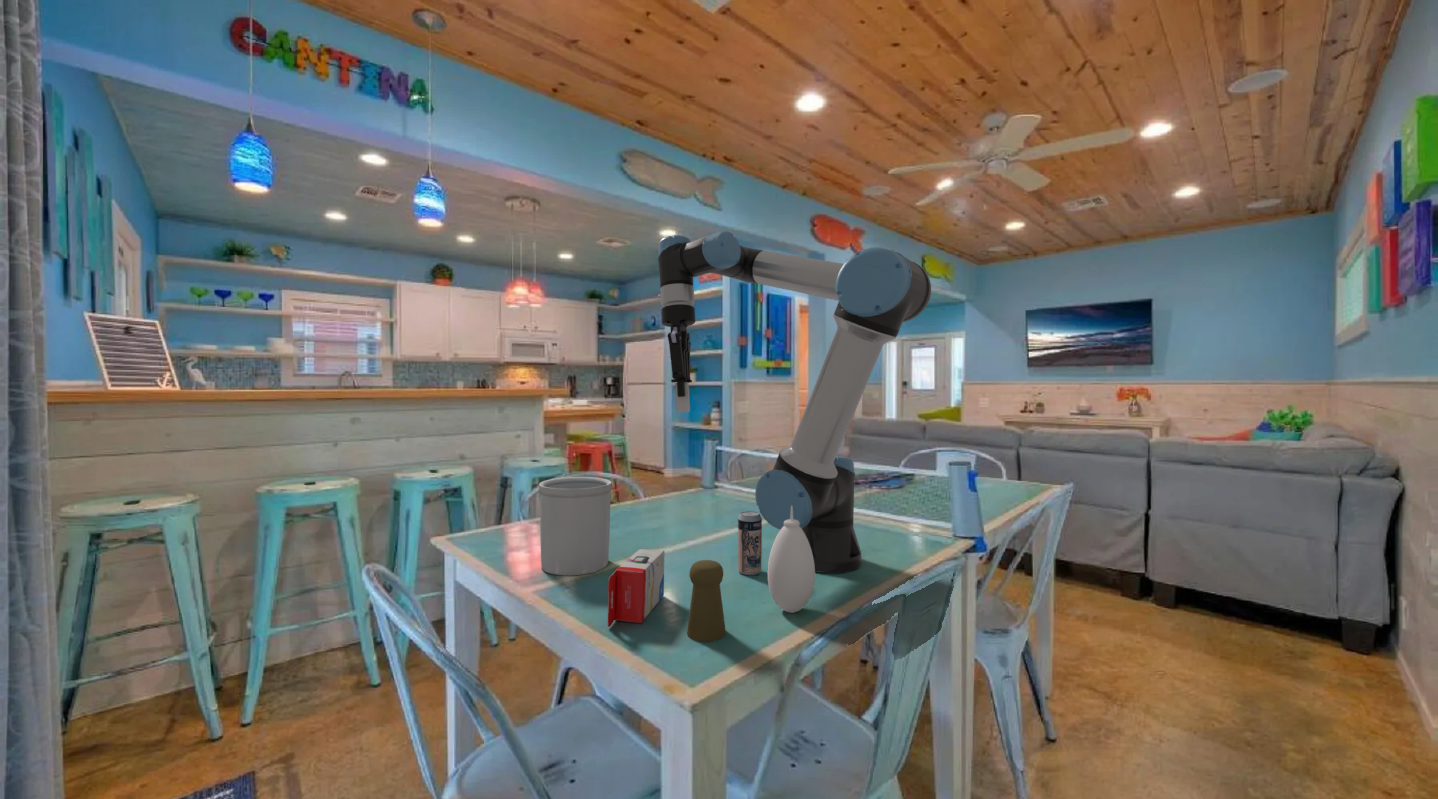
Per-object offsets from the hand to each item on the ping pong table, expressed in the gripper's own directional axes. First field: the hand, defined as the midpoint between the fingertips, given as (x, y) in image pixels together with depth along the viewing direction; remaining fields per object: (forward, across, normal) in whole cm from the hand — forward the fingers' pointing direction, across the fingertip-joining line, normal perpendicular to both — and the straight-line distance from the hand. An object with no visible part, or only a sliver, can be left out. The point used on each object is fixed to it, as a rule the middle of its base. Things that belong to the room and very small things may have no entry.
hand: (683, 411), depth 122 cm
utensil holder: (+31, +7, -23) cm, 40 cm away
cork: (+36, +34, +9) cm, 50 cm away
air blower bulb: (+36, +23, +22) cm, 48 cm away
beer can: (+34, +6, +13) cm, 37 cm away
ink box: (+30, +21, -3) cm, 36 cm away
